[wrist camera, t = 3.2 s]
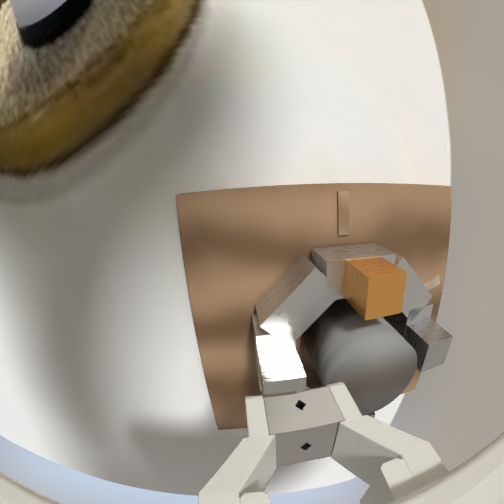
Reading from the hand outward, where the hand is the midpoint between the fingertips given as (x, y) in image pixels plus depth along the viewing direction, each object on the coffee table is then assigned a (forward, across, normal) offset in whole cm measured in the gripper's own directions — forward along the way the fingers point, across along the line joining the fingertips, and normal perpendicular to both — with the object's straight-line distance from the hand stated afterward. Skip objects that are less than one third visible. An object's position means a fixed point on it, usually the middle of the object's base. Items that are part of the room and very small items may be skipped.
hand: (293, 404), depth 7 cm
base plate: (+13, -6, +5) cm, 15 cm away
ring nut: (+12, -6, +5) cm, 14 cm away
